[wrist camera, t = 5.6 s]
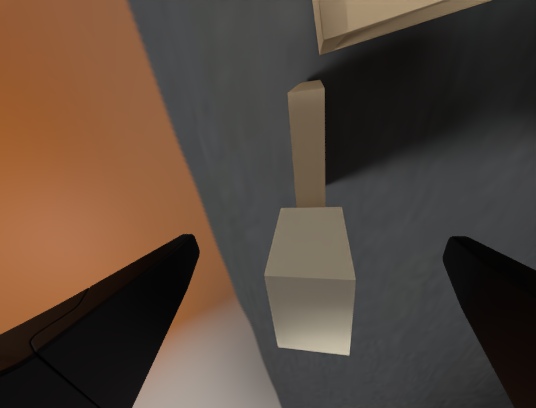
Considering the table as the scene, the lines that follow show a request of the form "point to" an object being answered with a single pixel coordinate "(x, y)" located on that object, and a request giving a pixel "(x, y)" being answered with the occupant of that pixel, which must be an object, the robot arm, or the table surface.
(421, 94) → the table surface
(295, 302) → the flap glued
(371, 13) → the carton
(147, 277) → the robot arm
